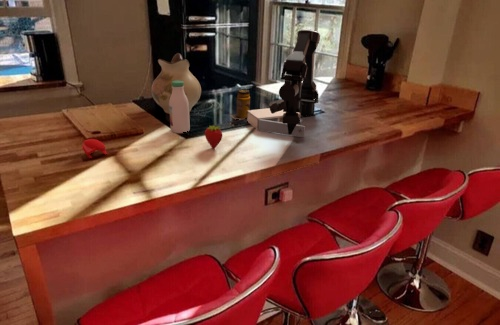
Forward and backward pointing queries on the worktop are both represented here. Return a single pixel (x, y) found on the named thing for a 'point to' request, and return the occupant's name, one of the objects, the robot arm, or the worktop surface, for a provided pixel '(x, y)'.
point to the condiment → (242, 104)
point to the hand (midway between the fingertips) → (289, 133)
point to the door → (279, 128)
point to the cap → (93, 147)
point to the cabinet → (264, 116)
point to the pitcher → (175, 73)
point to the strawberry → (213, 135)
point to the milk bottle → (179, 109)
